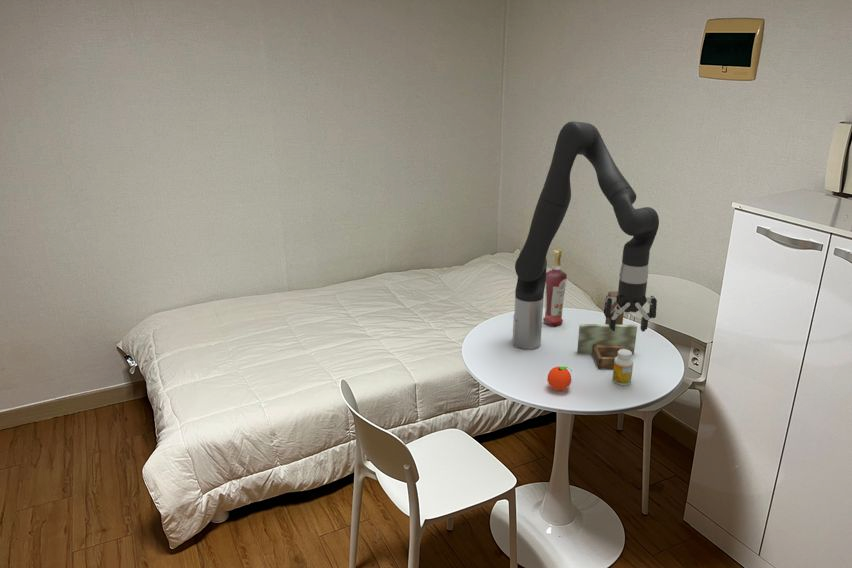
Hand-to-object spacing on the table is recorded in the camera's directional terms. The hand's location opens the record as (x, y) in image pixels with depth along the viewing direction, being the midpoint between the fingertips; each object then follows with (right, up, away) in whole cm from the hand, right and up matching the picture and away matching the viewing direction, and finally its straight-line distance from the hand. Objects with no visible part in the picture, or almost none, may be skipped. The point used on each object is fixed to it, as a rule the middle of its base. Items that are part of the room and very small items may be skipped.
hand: (627, 330), depth 180 cm
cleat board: (0, -11, +18) cm, 21 cm away
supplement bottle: (0, -16, +6) cm, 17 cm away
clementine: (-19, -18, +2) cm, 26 cm away
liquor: (-13, -1, +45) cm, 47 cm away
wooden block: (+7, -7, +30) cm, 31 cm away
